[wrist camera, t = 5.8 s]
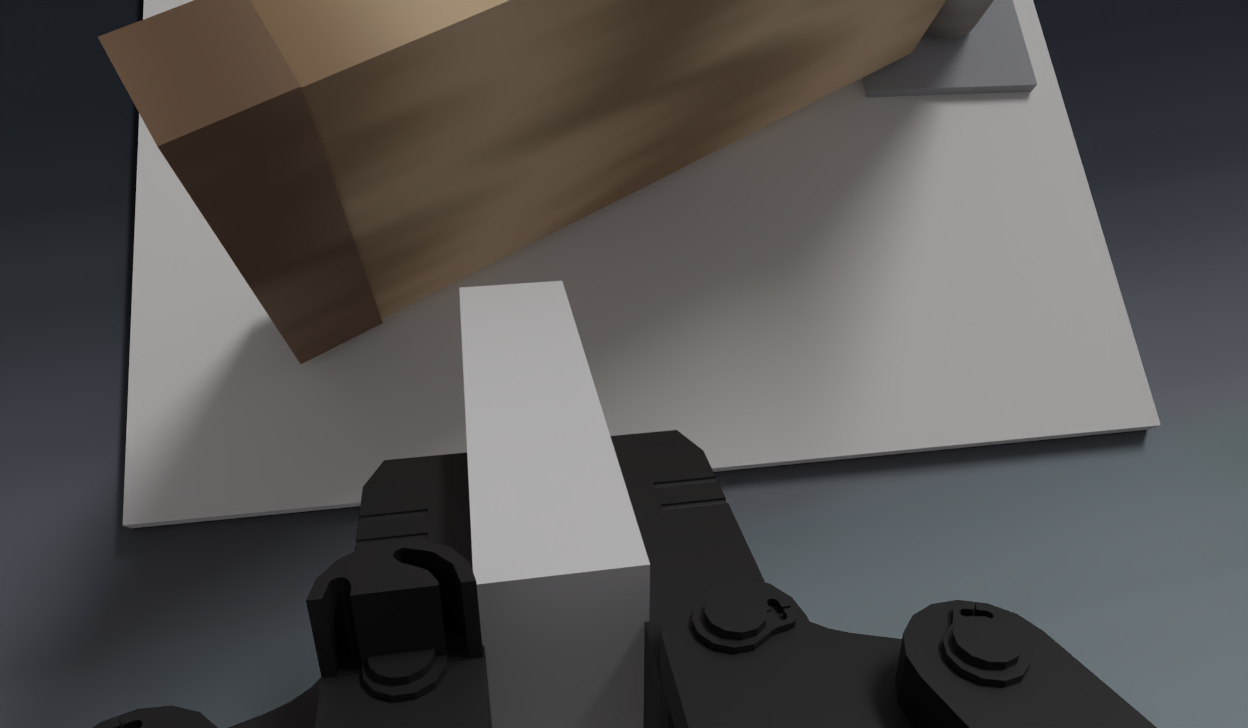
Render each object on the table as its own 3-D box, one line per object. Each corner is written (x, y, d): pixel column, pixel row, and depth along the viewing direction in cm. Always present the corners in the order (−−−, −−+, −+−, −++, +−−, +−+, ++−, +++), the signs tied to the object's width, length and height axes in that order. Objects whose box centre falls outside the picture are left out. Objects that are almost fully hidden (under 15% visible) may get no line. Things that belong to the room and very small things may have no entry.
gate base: (938, -280, 28) (949, -303, 27) (1149, 429, 22) (1169, 421, 21) (162, -303, 25) (152, -330, 24) (130, 528, 18) (116, 522, 18)
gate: (945, -36, 24) (1183, -419, 16) (992, 22, 24) (1263, -338, 15) (259, 289, 19) (67, -13, 11) (304, 370, 19) (140, 123, 10)
